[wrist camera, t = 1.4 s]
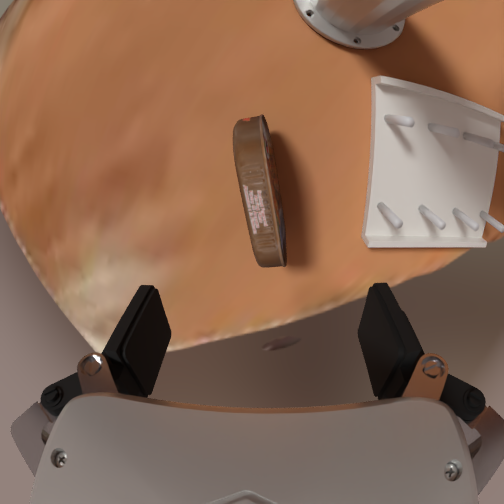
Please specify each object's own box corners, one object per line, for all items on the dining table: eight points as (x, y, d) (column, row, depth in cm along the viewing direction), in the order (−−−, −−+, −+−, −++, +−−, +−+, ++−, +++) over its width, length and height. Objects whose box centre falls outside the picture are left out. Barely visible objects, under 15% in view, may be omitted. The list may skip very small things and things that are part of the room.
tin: (287, 242, 33) (292, 283, 25) (261, 245, 33) (259, 287, 26) (266, 113, 25) (266, 113, 18) (236, 118, 26) (224, 121, 18)
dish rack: (371, 77, 22) (395, 72, 17) (495, 114, 21) (525, 121, 16) (361, 236, 32) (377, 263, 26) (476, 238, 30) (498, 259, 25)
